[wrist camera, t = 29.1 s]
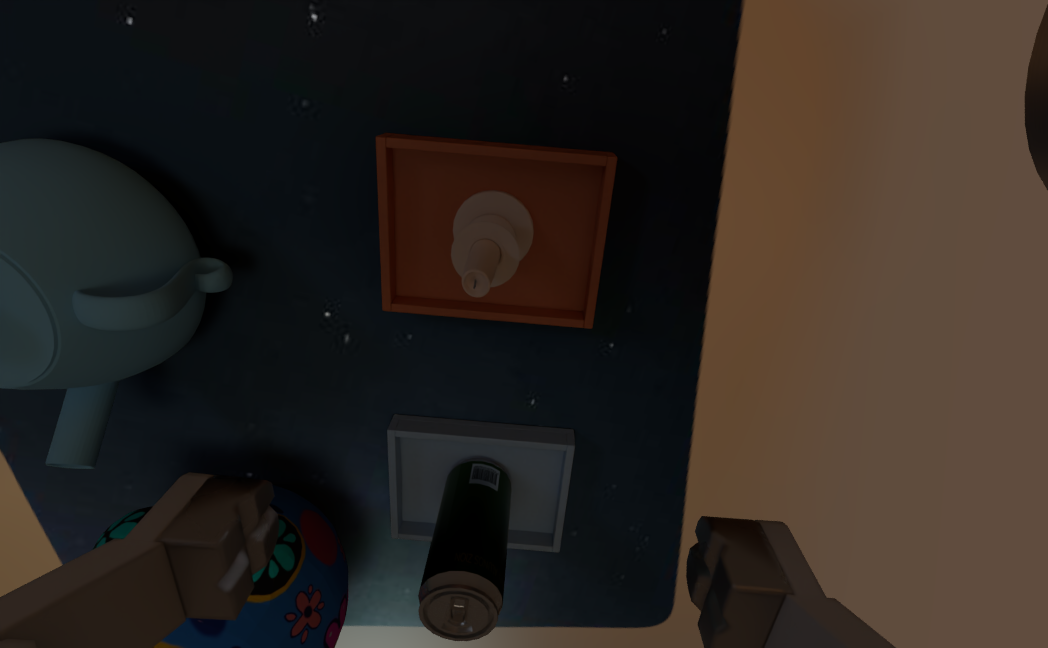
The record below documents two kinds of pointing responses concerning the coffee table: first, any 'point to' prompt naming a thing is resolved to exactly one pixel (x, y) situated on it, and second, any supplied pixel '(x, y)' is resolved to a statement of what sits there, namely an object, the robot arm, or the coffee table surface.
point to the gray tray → (522, 451)
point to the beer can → (468, 553)
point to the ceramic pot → (276, 586)
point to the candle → (490, 240)
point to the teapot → (90, 283)
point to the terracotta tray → (521, 170)
